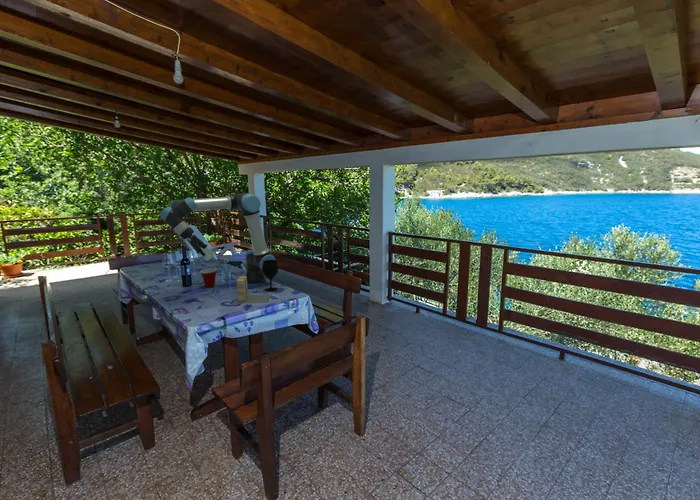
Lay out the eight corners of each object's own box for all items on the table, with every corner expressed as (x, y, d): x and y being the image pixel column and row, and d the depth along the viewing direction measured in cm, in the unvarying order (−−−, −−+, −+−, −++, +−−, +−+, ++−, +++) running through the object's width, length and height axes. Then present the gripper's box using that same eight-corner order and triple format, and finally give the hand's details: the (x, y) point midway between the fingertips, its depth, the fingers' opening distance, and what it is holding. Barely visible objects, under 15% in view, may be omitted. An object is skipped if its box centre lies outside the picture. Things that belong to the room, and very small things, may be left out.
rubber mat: (238, 296, 218) (238, 295, 218) (271, 295, 221) (271, 294, 221) (233, 304, 203) (233, 303, 203) (268, 303, 205) (268, 302, 205)
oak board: (241, 296, 216) (240, 276, 213) (247, 296, 216) (246, 276, 214) (238, 301, 206) (236, 280, 203) (244, 301, 206) (243, 280, 204)
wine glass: (262, 293, 224) (261, 263, 221) (263, 288, 234) (262, 259, 231) (279, 292, 226) (278, 262, 223) (279, 287, 236) (278, 259, 233)
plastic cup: (199, 286, 239) (197, 269, 237) (215, 283, 245) (214, 267, 243) (203, 290, 231) (202, 272, 228) (219, 287, 237) (218, 270, 235)
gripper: (184, 233, 210) (209, 258, 216) (173, 237, 186) (202, 265, 192) (193, 225, 211) (219, 250, 216) (184, 228, 187) (212, 256, 192)
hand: (211, 257), depth 204 cm, fingers open, 13 cm apart
